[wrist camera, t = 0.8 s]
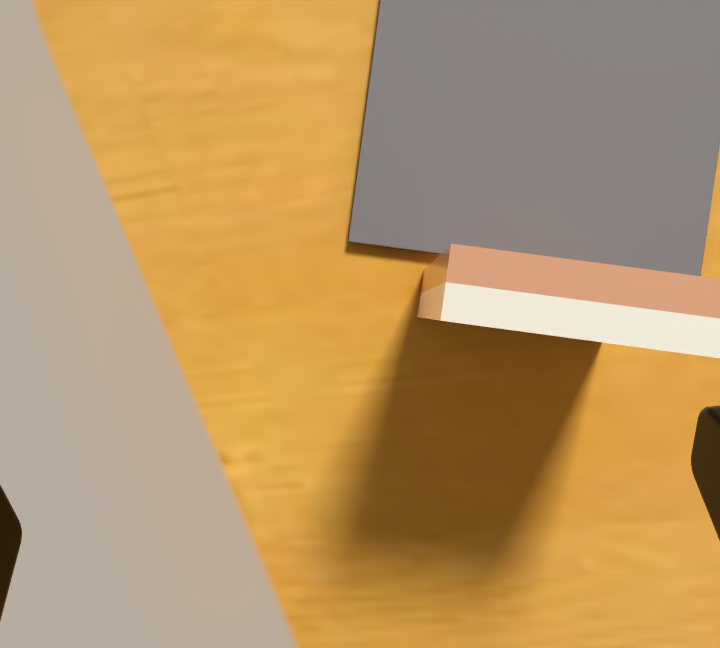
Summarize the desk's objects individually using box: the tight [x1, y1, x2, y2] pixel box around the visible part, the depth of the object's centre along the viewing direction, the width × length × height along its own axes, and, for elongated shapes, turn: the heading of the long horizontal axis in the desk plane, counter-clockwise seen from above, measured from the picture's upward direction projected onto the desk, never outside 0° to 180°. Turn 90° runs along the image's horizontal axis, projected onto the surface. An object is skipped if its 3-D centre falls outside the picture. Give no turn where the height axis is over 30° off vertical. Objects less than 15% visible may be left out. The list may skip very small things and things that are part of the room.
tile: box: [417, 244, 720, 358], centre depth 21 cm, size 2×7×10 cm, turn 82°
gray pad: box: [349, 0, 720, 276], centre depth 25 cm, size 12×13×1 cm
